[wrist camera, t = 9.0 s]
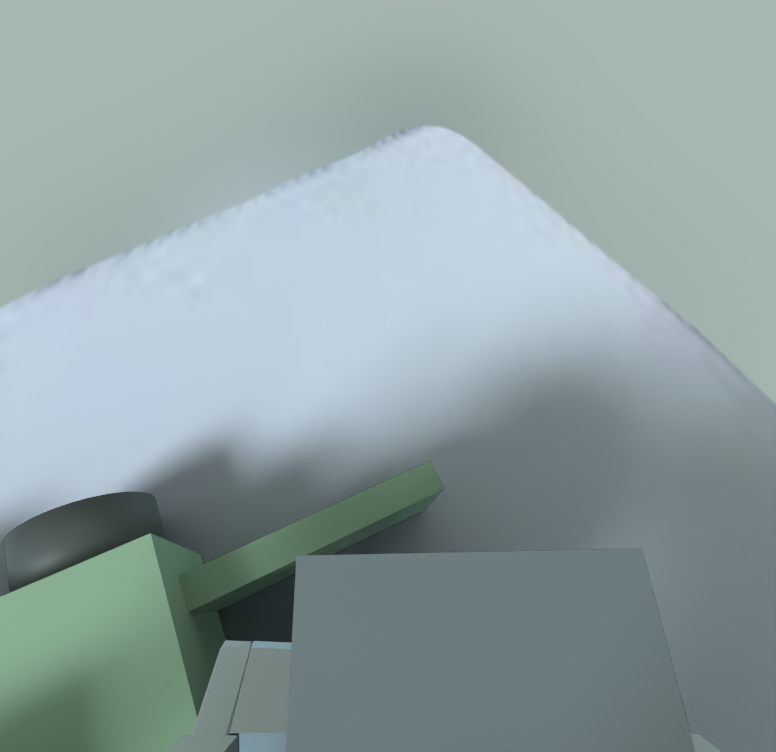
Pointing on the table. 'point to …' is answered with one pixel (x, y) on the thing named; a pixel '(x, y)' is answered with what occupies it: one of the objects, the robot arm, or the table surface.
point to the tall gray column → (481, 654)
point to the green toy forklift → (143, 613)
